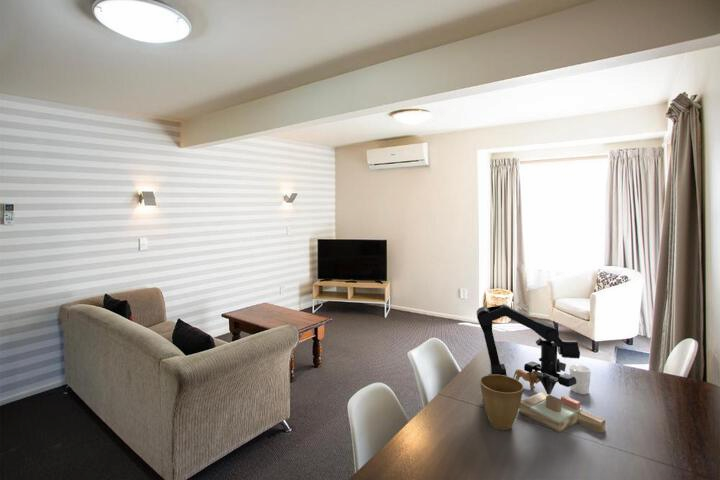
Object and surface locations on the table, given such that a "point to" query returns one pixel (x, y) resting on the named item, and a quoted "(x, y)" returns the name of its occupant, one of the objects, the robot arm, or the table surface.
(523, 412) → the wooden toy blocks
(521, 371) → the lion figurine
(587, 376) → the white cup
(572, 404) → the block
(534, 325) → the robot arm
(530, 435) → the table surface
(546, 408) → the lid
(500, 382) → the plant pot
